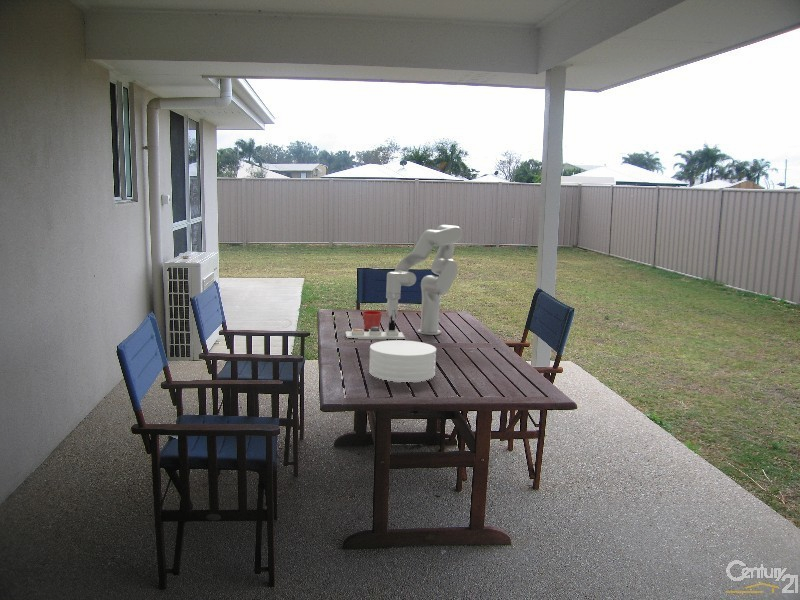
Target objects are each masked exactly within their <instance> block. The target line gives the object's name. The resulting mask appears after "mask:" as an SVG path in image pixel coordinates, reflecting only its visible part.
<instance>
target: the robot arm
mask: <svg viewBox="0 0 800 600" xmlns="http://www.w3.org/2000/svg"><path fill="white" fill-rule="evenodd" d="M463 236H464V235H463V230H462V228H461V227H460V226H458V225H449V224H441V225H440V224H439V226H437V228H436V229H426V230H424V231H423V232H422V234H421V236H420V238H419V240H417V243H416V245H415V246H414V247H413V250H412V251H411V252H409V254H407V255H406V256H405V257H404V258H402V259H401V260H400V262H398V264H397V266H396V267H395V269H394V271H388V272H387V274H386V289H385V290H386V292H385V298H386V299H387V301H386V312H385V314H386V317H387V318H388V319H389V321H388V329H389V330H395V329H396V318H398V314H399V313H398V312H399V300H400V299H401V294H402V293H401V290H402V288H401V287H402V286H404V287H405V286H406V287H411V286H414V285H415V284H416V283H417V276H416V274H415V273H414V272H412V271H409V270H410V269H411V268H412V267H414V266H416V265H418V264H421V263H423V262H424V261H427V258H428V257H429V255H430V253H431V252H432V250H433V248H434V247H438V249H437V252H436V255H435V256H434V259H433V261H432V263H431V266H430V271H431V272H432V273H433V274H435V275H433V274H430V275H429V274H428V275H425V276H423V278H422V279H421V282H420V289H421V313H420V314H421V315H420V328H419V329H417V333H418V334H421V335H429V336H434V335H436V336H437V335H440V334H442V332H441V331H442V330H440V329H439V315H440V296H445V295H447V294H448V293H449V292H450V290H451V288H452V285H453V283H454V281H455V279H456V276H457V274H458V269H459V268H458V267H459V266H458V263H457V262H456V260H454V259H453V255H454V252H455V246H454V243H457V242H459V241H460V240H461V239H462V238H463Z"/></svg>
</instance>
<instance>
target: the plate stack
mask: <svg viewBox="0 0 800 600" xmlns="http://www.w3.org/2000/svg"><path fill="white" fill-rule="evenodd" d="M436 353H437V347H436V346H434V345H432V344H429V343H427V342H421V341H417V340H416V341H415V340H406V339H405V340H381V341H376V342H374V343H371V344H370V346H369V366H368V368H369V370H368V373H370V374H371V375H372V376H374V377H377V378H379V379H378V380H380V379H382V380H381V381H384V380H387V381H386V382H390V381H393V382H392V383H401V382H408V383H409V382H413V383H422V382H427V381H430V380H432V379H434V378H435V377H436V363H437V361H436V359H437V354H436ZM370 374H369V375H370ZM371 375H370V376H371ZM372 376H371V377H372ZM434 376H435V377H434ZM374 377H373V378H374ZM433 377H434V378H433ZM377 378H376V379H377ZM431 378H432V379H431ZM429 379H430V380H429ZM426 380H427V381H426ZM421 381H422V382H421ZM408 383H407V384H408ZM409 384H410V383H409Z"/></svg>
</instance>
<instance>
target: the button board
mask: <svg viewBox="0 0 800 600" xmlns="http://www.w3.org/2000/svg"><path fill="white" fill-rule="evenodd" d="M354 329H355V328H351V331H350V330H349V331H348V330H346V331H345V337H347V338H358V339H357V340H386V339H396V340H397V339H405V340H406V337H405V335H404V333H403V332H402V331H399V330H398V329H396V328H395V330H396V332H388V329H389V328H388V329H387V328H386V329H385V331H382V330H381V328H379V331H371V329H369V331H365V329H364V328H361V329H362V331H354ZM347 338H346V339H347Z"/></svg>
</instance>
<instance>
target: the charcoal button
mask: <svg viewBox="0 0 800 600" xmlns="http://www.w3.org/2000/svg"><path fill="white" fill-rule="evenodd" d="M379 329H380V326H379V327H371V331H379Z"/></svg>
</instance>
